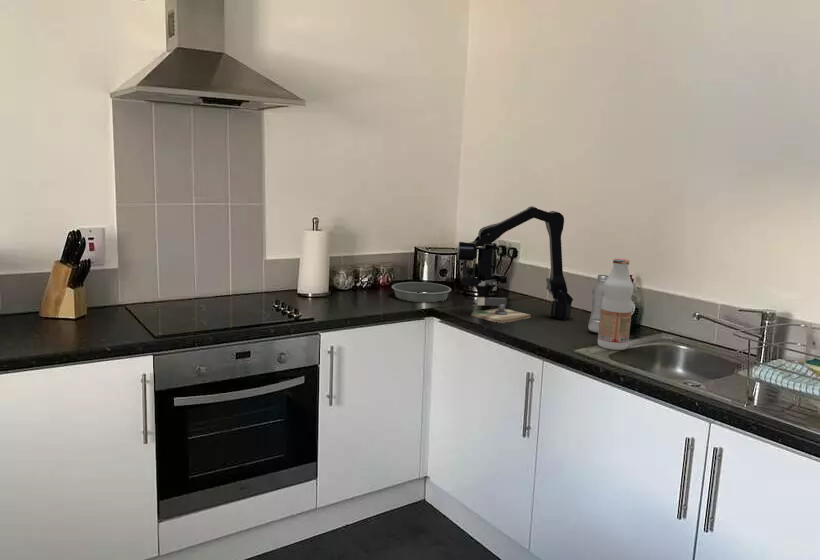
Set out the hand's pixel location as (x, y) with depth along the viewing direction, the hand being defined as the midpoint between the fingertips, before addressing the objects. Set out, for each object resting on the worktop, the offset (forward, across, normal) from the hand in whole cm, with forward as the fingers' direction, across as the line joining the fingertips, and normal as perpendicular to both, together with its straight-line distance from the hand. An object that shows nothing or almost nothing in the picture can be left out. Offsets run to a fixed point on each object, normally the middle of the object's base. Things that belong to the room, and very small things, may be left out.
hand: (482, 302), depth 255 cm
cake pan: (+5, +1, -36) cm, 36 cm away
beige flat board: (+4, -3, +5) cm, 8 cm away
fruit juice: (+5, -7, +53) cm, 54 cm away
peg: (+2, -1, +4) cm, 5 cm away
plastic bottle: (+5, -18, +39) cm, 43 cm away
